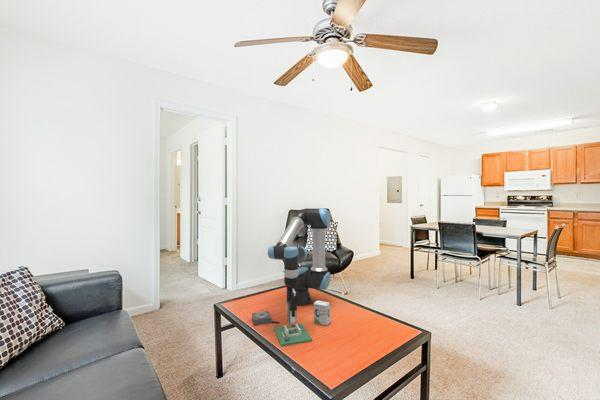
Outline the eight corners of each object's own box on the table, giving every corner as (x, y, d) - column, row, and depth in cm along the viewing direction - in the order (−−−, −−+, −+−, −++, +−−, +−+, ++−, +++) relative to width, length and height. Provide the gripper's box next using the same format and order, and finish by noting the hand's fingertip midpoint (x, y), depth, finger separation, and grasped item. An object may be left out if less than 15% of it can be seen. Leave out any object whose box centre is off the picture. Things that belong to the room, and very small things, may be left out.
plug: (294, 319, 150) (294, 300, 149) (296, 322, 146) (296, 303, 146) (286, 320, 148) (285, 301, 148) (287, 323, 145) (287, 304, 144)
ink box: (330, 322, 161) (330, 302, 161) (327, 326, 157) (327, 305, 156) (317, 319, 165) (316, 299, 165) (313, 323, 161) (313, 302, 160)
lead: (279, 322, 161) (279, 321, 161) (278, 323, 161) (278, 322, 161) (271, 321, 163) (271, 320, 163) (270, 322, 162) (270, 321, 162)
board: (301, 325, 159) (301, 318, 158) (312, 341, 141) (311, 333, 141) (274, 329, 154) (274, 322, 154) (281, 346, 137) (281, 338, 137)
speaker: (268, 315, 171) (268, 309, 171) (271, 322, 162) (271, 316, 162) (252, 317, 168) (252, 312, 168) (254, 325, 159) (254, 319, 159)
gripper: (280, 272, 154) (281, 314, 154) (288, 281, 138) (288, 328, 138) (293, 271, 156) (294, 312, 156) (302, 280, 140) (303, 326, 140)
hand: (291, 320), depth 147 cm, fingers closed on plug, 4 cm apart
